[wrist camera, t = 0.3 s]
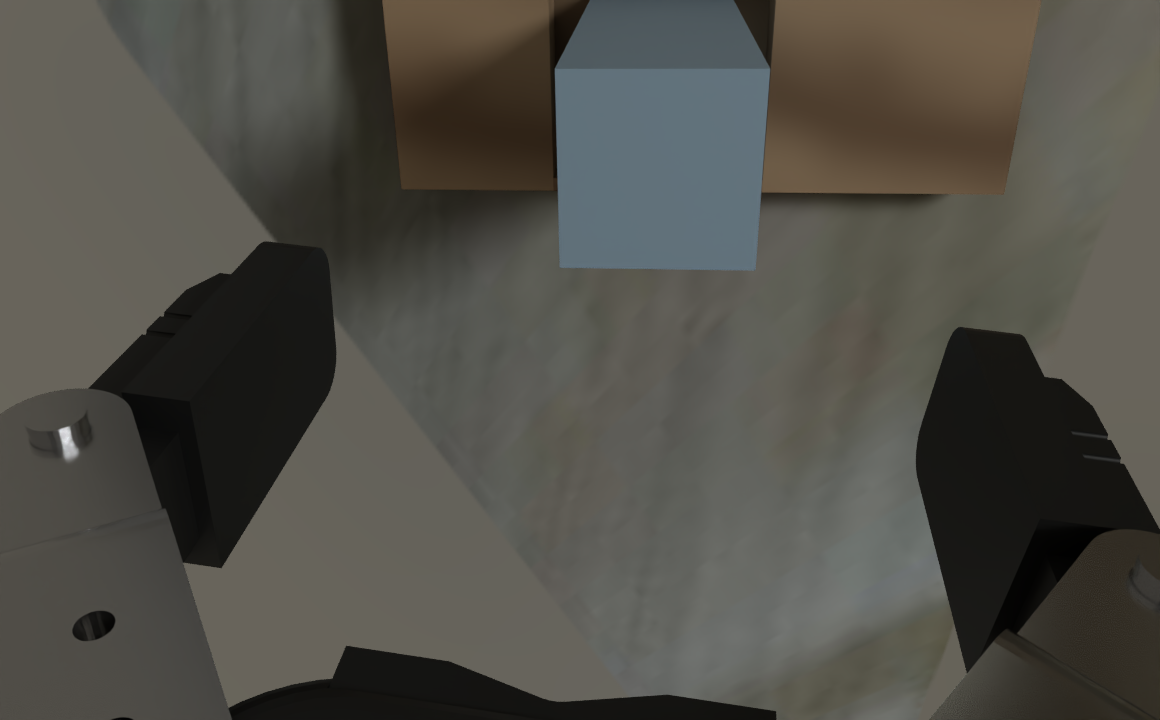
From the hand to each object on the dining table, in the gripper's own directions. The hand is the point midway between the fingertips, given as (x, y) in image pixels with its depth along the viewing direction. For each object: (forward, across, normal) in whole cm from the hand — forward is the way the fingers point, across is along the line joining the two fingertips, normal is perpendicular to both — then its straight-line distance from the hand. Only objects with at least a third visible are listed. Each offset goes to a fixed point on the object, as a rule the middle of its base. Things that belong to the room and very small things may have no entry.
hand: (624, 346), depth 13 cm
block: (+27, +1, +4) cm, 27 cm away
